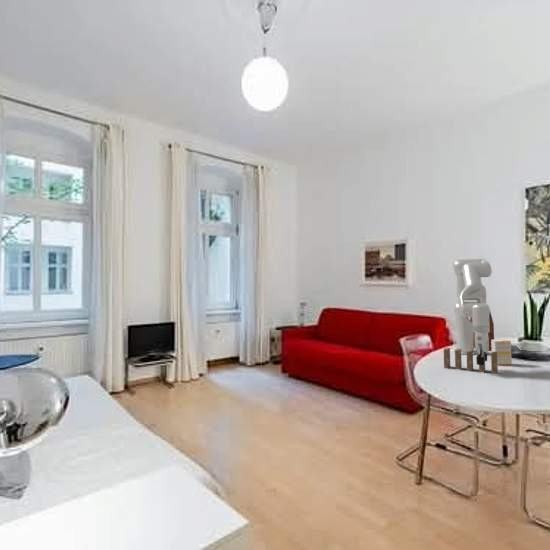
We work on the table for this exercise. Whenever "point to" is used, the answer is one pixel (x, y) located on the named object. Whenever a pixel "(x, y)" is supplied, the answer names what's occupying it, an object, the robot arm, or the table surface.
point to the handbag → (491, 333)
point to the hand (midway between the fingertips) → (482, 362)
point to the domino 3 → (469, 360)
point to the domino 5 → (494, 362)
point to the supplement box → (502, 351)
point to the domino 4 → (482, 367)
